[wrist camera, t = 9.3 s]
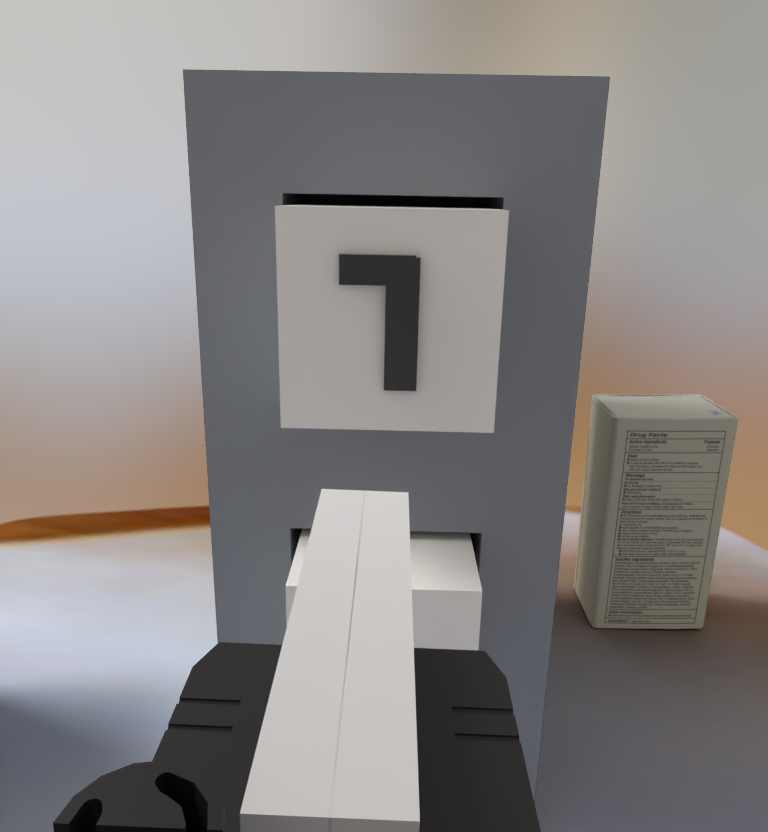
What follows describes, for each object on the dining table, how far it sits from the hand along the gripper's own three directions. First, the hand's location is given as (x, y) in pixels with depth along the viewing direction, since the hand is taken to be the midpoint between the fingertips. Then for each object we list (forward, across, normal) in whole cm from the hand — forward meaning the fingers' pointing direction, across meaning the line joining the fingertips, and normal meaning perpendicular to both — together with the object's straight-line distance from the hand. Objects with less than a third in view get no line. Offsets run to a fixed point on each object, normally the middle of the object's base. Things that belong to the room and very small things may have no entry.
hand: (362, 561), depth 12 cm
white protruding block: (+9, 0, 0) cm, 9 cm away
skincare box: (+24, +15, -16) cm, 32 cm away
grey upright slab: (+18, +1, -16) cm, 24 cm away
